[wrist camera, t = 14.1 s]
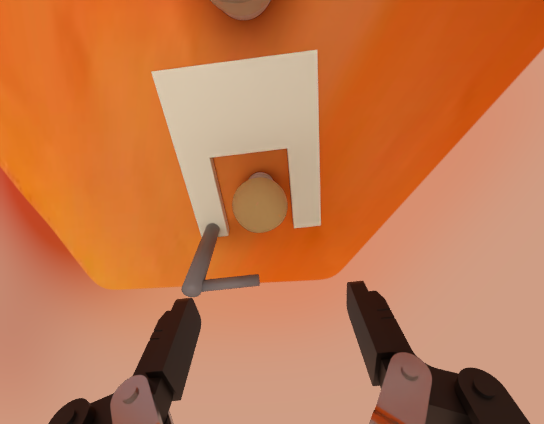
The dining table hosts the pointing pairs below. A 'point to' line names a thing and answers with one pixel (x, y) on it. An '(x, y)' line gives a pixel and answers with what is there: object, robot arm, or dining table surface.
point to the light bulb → (259, 203)
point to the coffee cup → (242, 8)
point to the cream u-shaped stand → (242, 139)
